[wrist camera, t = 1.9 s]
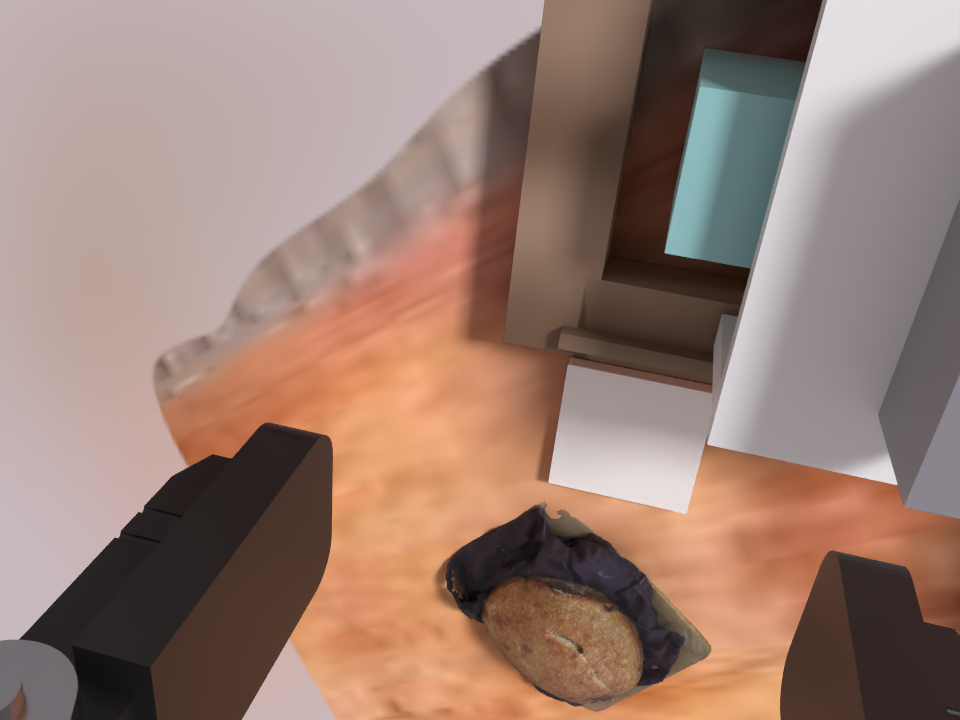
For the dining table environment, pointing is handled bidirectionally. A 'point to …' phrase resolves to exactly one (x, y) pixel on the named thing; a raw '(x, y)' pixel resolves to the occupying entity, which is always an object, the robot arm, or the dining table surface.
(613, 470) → the pad
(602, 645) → the bread roll
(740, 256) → the block
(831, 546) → the dining table surface
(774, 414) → the cover
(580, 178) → the brown flat frame
